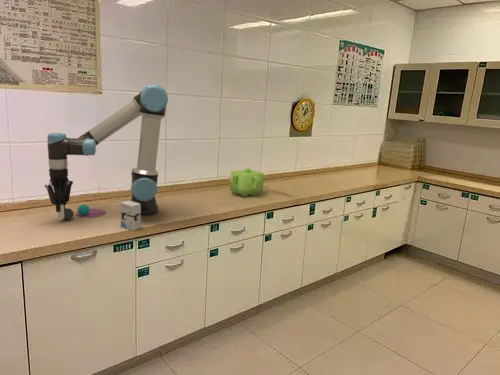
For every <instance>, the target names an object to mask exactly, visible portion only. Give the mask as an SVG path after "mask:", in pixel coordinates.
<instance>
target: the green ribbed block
mask: <svg viewBox="0 0 500 375" xmlns="http://www.w3.org/2000/svg"><path fill="white" fill-rule="evenodd" d="M264 178H265V174H264V173H263V172H261V171H260V172H259V171H256V170H253V169H251V168H244V170H231V172H230V175H229V179H230V182H229V186H230V187H229V188H230V189H229V191H231V192H234V194H235V195H241V196H242V198H248V196H249V195H252V196H253V197H258V196H259V195H258V194H262V193H263V192H264V181H265V179H264Z"/></svg>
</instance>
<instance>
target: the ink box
mask: <svg viewBox="0 0 500 375" xmlns="http://www.w3.org/2000/svg"><path fill="white" fill-rule="evenodd" d="M141 216H142V215H141V204H139V203H136V202H133V201H131V200H127V201H125V200H124V201H122V202H120V227H121V228H124V229H126V230H127V229H128V230H130V231H135V230H139V229H141V228H142V227H141V226H142V219H141V218H142V217H141Z"/></svg>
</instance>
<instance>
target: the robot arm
mask: <svg viewBox="0 0 500 375" xmlns="http://www.w3.org/2000/svg"><path fill="white" fill-rule="evenodd" d="M168 100H169V97H168V94H167V91H166V90H165V89H164V87H162V86H161V85H159V84H153V83H152V84H148V85H146V86H145V87H143V88H142V90H141V91H140V92H139V93H138V94H136V95H135V96H133V98H132V101H130V102H129V103H127V104H126V105H124V106H122V107H121V108H120V109H119V110H117V111H116V112H114V113H113V114H111V115H110V116H108V117H107V118H105V119H104V120H102V121H101V122H100V123H98V124H96V125H95V126H93V127H92V128H90V129H89V130H87V131H86V132H85V133H83V134H82V135H80V136H79V137H78V138H74V137H67V134H66V133H63V132H62V133H61V132H50V133H48V135H47V143H46V145H47V156H48V157H47V158H48V167H49V169H48V175H49V178H50V179H49V182H48V184H44V188H45V189H46V191H47V193H48V194H47V195H48V197H49V201H50V203H51V204H52V205H55V212H56V213H57V219H60V220H64V219H63V218H64V211H65V209H66V205H67V204H68V203H69V201H70V197H71V189H72V186H73V183H74V180H69V177H68V176H69V168H68V166H69V164H68V163H69V162H68V156H95V155H96V152H97V146H98V145H99V144H100V143H102V142H104V141H105V140H106V139H108V138H110V137H111V136H112V135H113V134H116V132H118V131H120V130H121V129H122V128H125V127H126V126H127V125H128V124H130V123H131V122H133V121H134V120H135V119H137V118H139V117H140V116H141V117H142V118H141V124H140V134H139V135H140V136H139V143H138V154H137V163H136V164H137V165H136V167H133V168H132V169H131V173H130V174H131V185H130V186H131V187H130V191H131V199H130V201H133V202H136V203H139V204H141V216H150V215H155V214H157V213H158V212H159V206H158V203H157V198H156V195H157V193H158V178H159V172H158V171H157V170H156V168H157V161H158V160H157V159H158V150H159V143H160V142H159V141H160V134H161V133H160V132H161V125H162V124H161V123H162V120H163V119H164V118H165V117H166V111H167V110H166V109H167V104H168ZM51 204H50V205H51Z"/></svg>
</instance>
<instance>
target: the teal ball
mask: <svg viewBox="0 0 500 375" xmlns="http://www.w3.org/2000/svg"><path fill="white" fill-rule="evenodd" d="M90 209H91V208H90V206H88V204H86V203H85V204H80V205H79V206H78V207H77V210H76V212H78V213H79V214H80V215H83V216H84V215H87V214H88V213H89V211H90Z"/></svg>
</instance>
